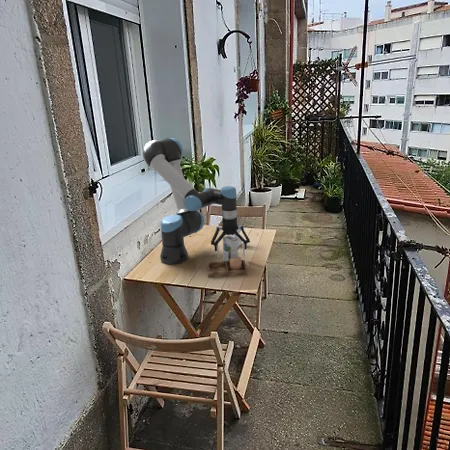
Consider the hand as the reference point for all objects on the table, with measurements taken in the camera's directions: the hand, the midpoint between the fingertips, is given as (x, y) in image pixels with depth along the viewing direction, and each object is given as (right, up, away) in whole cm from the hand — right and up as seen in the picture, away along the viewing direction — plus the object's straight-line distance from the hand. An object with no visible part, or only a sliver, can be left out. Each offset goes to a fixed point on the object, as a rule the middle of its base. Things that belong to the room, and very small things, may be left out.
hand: (230, 255), depth 197 cm
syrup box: (0, -4, +2) cm, 4 cm away
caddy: (-2, -8, -9) cm, 12 cm away
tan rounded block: (+2, -6, -9) cm, 11 cm away
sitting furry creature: (+3, +4, +25) cm, 25 cm away
